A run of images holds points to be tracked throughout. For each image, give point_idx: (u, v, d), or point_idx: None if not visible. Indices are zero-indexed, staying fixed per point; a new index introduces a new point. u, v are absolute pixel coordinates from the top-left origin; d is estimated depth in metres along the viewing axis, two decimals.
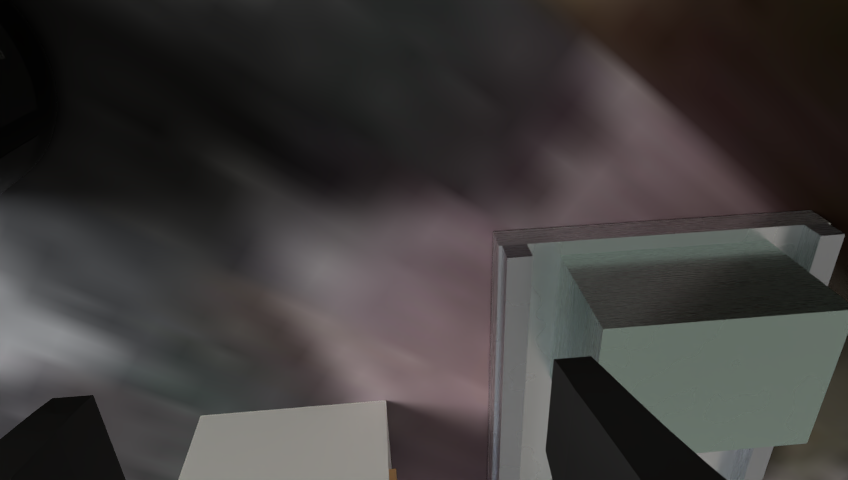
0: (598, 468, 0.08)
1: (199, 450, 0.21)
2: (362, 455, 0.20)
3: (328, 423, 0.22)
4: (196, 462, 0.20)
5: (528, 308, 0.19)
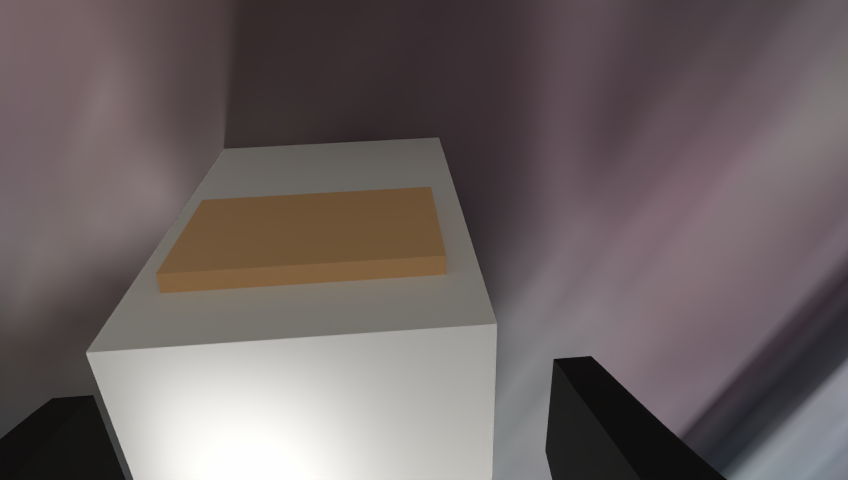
0: (598, 468, 0.08)
1: None
2: None
3: None
4: None
5: None
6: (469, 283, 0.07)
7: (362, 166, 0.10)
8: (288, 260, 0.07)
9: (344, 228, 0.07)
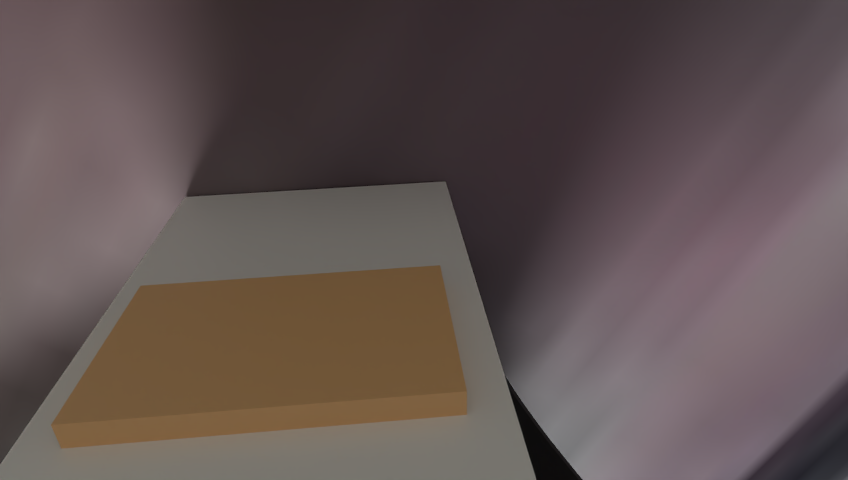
0: None
1: None
2: None
3: None
4: None
5: None
6: (501, 433, 0.05)
7: (352, 225, 0.08)
8: (244, 398, 0.05)
9: (325, 338, 0.05)
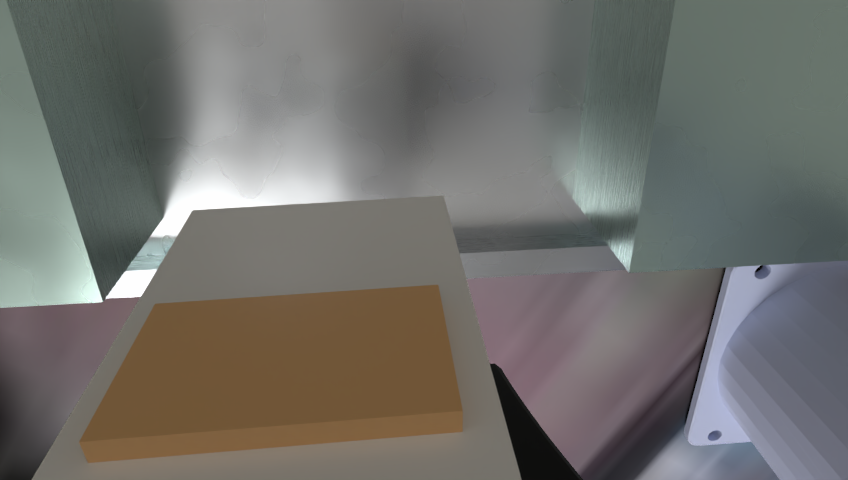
0: None
1: None
2: None
3: None
4: None
5: None
6: (493, 449, 0.05)
7: (354, 241, 0.08)
8: (256, 417, 0.05)
9: (330, 357, 0.06)
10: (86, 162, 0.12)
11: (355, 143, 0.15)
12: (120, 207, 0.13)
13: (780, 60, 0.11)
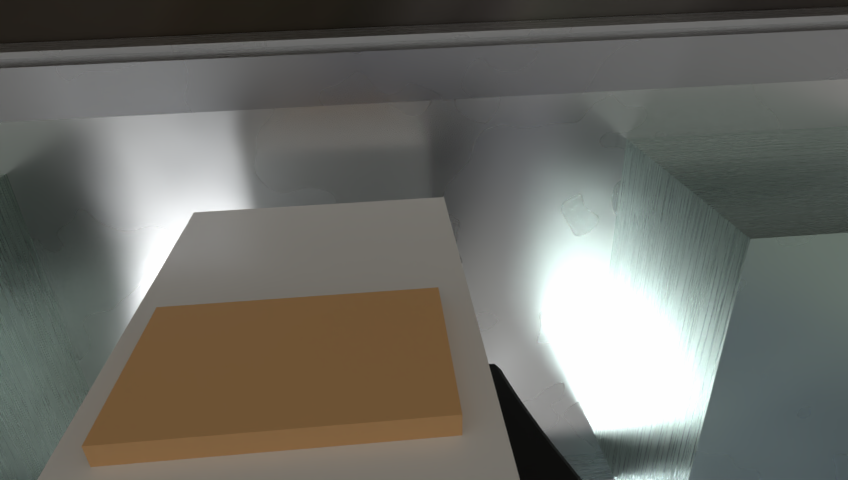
0: None
1: None
2: None
3: None
4: None
5: None
6: (493, 453, 0.05)
7: (355, 243, 0.08)
8: (257, 421, 0.05)
9: (331, 361, 0.06)
10: None
11: None
12: None
13: None
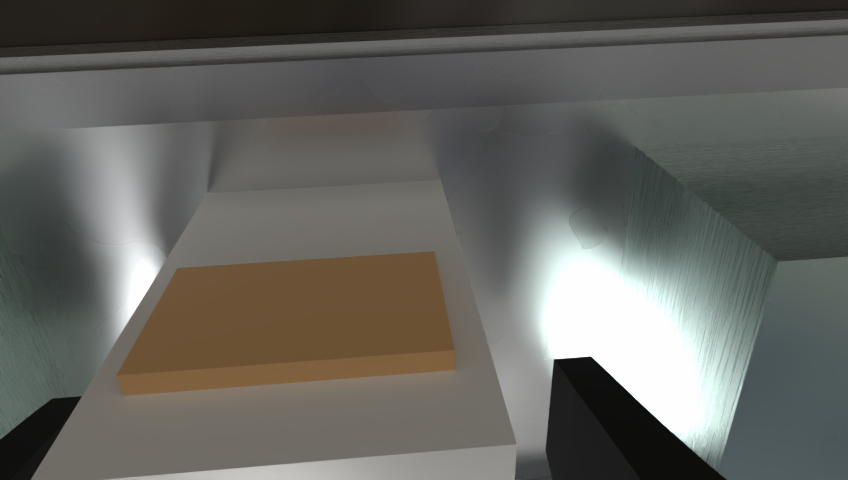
0: (598, 467, 0.08)
1: None
2: None
3: None
4: None
5: None
6: (482, 383, 0.06)
7: (358, 218, 0.09)
8: (272, 356, 0.06)
9: (337, 310, 0.06)
10: None
11: None
12: None
13: None
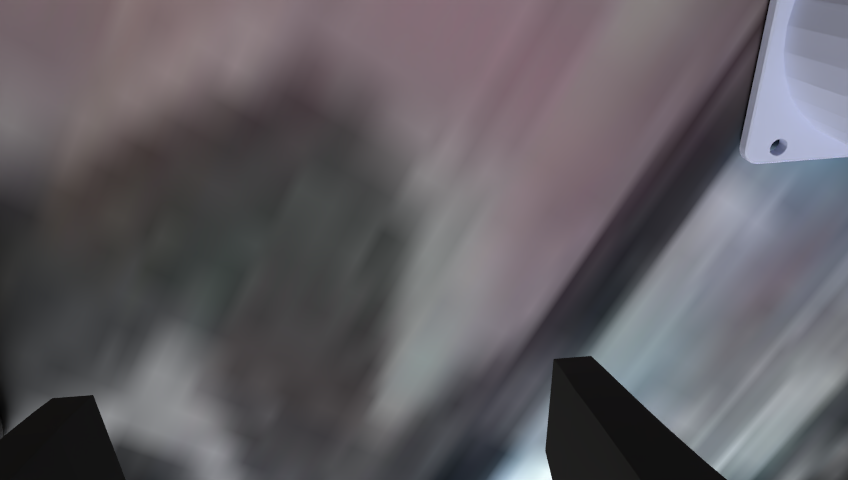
0: (598, 467, 0.08)
1: None
2: None
3: None
4: None
5: None
6: None
7: None
8: None
9: None
10: None
11: None
12: None
13: None
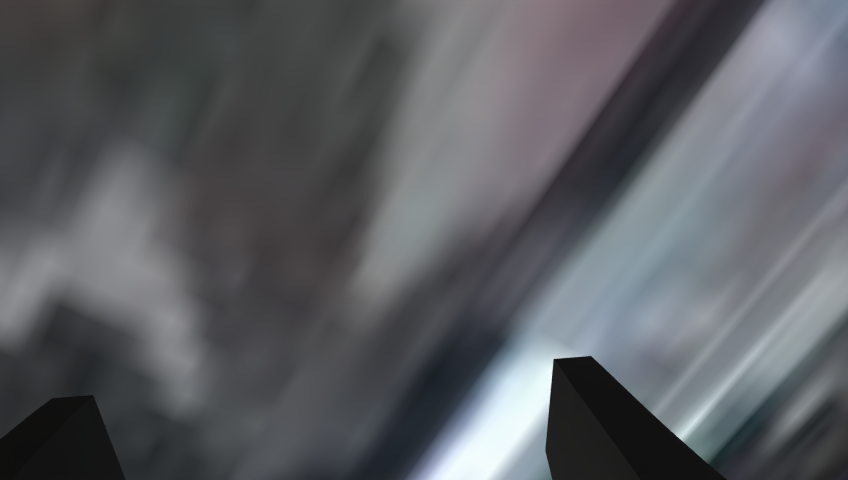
0: (597, 467, 0.08)
1: None
2: None
3: None
4: None
5: None
6: None
7: None
8: None
9: None
10: None
11: None
12: None
13: None
